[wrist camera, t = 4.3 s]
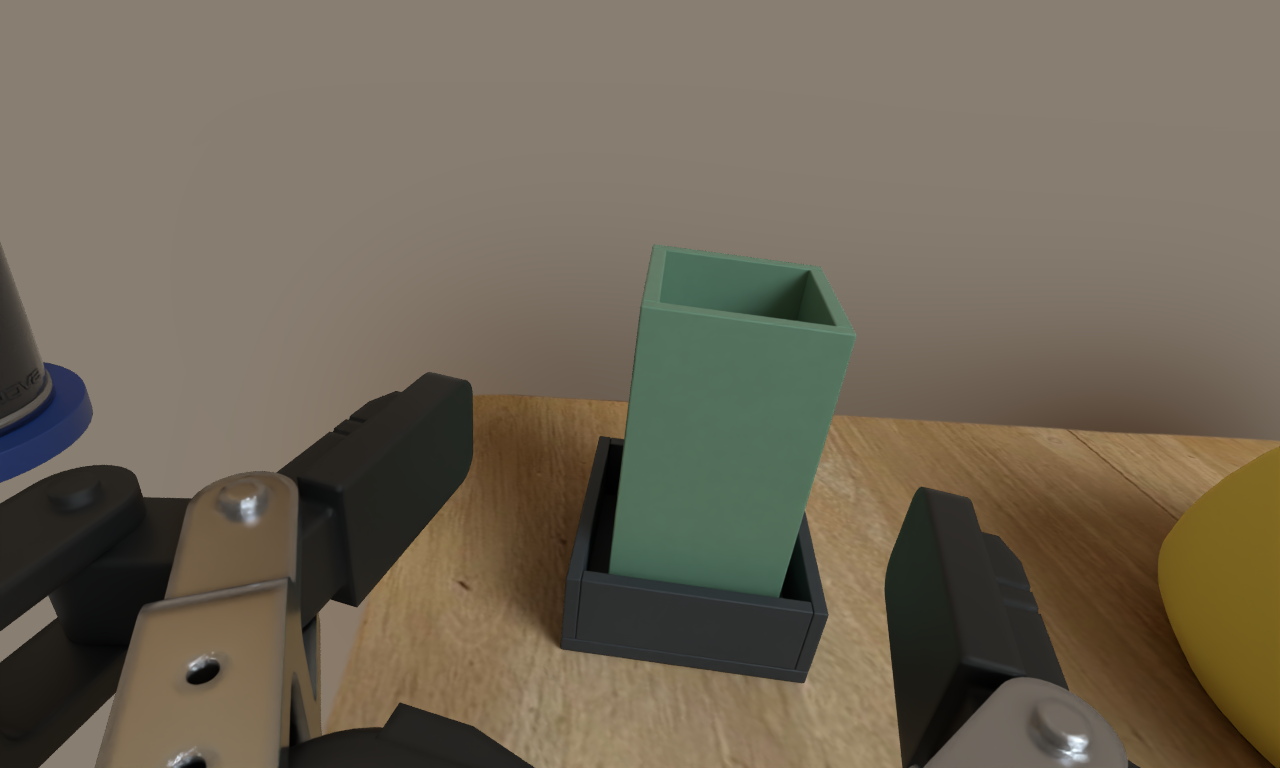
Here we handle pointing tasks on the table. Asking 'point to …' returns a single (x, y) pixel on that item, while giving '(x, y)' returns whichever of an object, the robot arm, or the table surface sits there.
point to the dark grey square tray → (685, 602)
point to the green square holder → (726, 418)
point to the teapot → (1231, 597)
